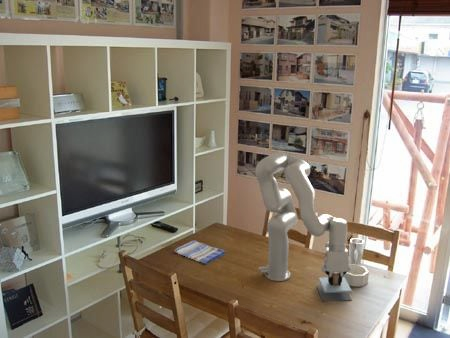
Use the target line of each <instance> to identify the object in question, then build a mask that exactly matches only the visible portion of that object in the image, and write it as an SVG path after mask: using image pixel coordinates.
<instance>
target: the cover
mask: <svg viewBox="0 0 450 338" xmlns="http://www.w3.org/2000/svg"><path fill="white" fill-rule="evenodd" d="M332 277H333V282H332V285H330V283H329V282H328V277H318V280H319V283H320V285H322V288H323V290H324V292H348V293H353V291H352V289H351V288H352V287H351V286H350V285H349V284H348V283H347V281H346V279H345V277H342V282H341V285H339V272H332Z"/></svg>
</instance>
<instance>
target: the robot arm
mask: <svg viewBox="0 0 450 338" xmlns="http://www.w3.org/2000/svg"><path fill="white" fill-rule="evenodd" d="M281 171H284V176H285V179H286V180H287V182H288V184H289V186H290V187H291V189H292V191H293V193H294V195H295V197H296V200H297V201H298V209H299V214H300V218H301V221H302V223H303V224H304V226H305V228H306V230H307V231H308V233H309V234H310V235H312V236H313V237H321V236H323V235H324V234H325V233H327V232H329V233H328V241H327V243H325V245H324V246H325V248H326V251H325V255H324V261H323V264H322V266H321V268H320V271H321V272H323V273H324V274H326V275H327V278H328V282H329V283H330V285H332V282H333V277H332V272H338V273H339V285H341V282H342V277H343V275H345V274H346V273H347V272H349V271H351V269H350V267H349V263H350V258H349V249H347V235H348V222H347V220H346V219H345V218H344V219H343V218H338V217H335V216H333V215H330V214H327V213H322V214H319V215H318V216H317V213H316V211H315V207H314V202H315V201H314V200H315V197H316V190H315V189H314V186H313V185H312V184H311V183H312V182H311V181H310V179H309V178H308V177H309V176H310V173H311V167H310V165H309V163H307V162H306V161H305V160H303V159H301V158H299V157H297V156H294V155H291V154H288V153H286V152H281V151H279V152H276V153H273V154H270V155H268V156H266V157H263V158H261V160H260V161H258V163H257V164H256V166H255V177H256V180H257V183H258V185H259V188H260V193H261V197H262V201H263V203H264V208H265V209H266V210H267V211H268V212H269V213H275V214H274V215H272V216H271V217H270V218H269V219H268V222H267V232H268V254H267V255H268V256H267V257H268V258H267V259H268V263H267V264H266V265H265V266H258V272H260V271H261V273H264V276H265V277H266V278H267V279H268V280H270V281H274V282H284V281H287V280H289V279H290V278H291V272H290V270H289V269H288V267H289V265H288V264H289V243H290V242H289V237H288V231H289V230H291V229H293V228H294V227H295V226H296V225H297V223H298V214H297V210H296V206H295V203H294V200H293V196H292V194H291V192H290V191H289V190H288V189H286V188H284V187H279V185H278V184H279V183H278V181H277V179H276V178H275V176H274V174H276V173H279V172H281ZM276 212H278V213H276Z"/></svg>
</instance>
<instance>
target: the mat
mask: <svg viewBox="0 0 450 338" xmlns="http://www.w3.org/2000/svg"><path fill="white" fill-rule="evenodd" d="M316 289H317V291H318V293H319V295H320V298H321V301H323V302H328V301H329V302H330V301H331V302H335V301H336V302H340V301H341V302H344V301H345V302H349V301H353V300H352V297H351V296H350V292H324V290H323V288H322V285H321V284H320V285H319V284H316Z"/></svg>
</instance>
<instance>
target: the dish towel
mask: <svg viewBox="0 0 450 338" xmlns="http://www.w3.org/2000/svg"><path fill="white" fill-rule="evenodd" d="M174 252H176V253H178V254H177V255H179V254H180V255H179V256H181V255H183V256H185V257H184V258H186V257H188V258H187V259H189V258H191V259H193V260H192V261H194V260H195V262H197V261H198V262H197V263H199V262H201V263H200V264H202V263H204V264H203V265H208V264H210V263H212V262H214V261H216V260H217V258H218V259H219V258H222V257H223V256H225V255H226V253H225V252H226V251H225V250H224V249H220V248H217V247H215V246H210V245H207V244H205V243H202V242H198V241H197V240H196V239H195V240H191V241H190V242H187V243H185V244H183V245H181V246H179V247H177V248H175V249H174V251H173V253H174ZM176 253H175V254H176ZM183 256H182V257H183ZM191 259H190V260H191ZM215 259H216V260H215ZM213 260H214V261H213ZM211 261H212V262H211ZM209 262H210V263H209ZM207 263H208V264H207Z"/></svg>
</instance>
